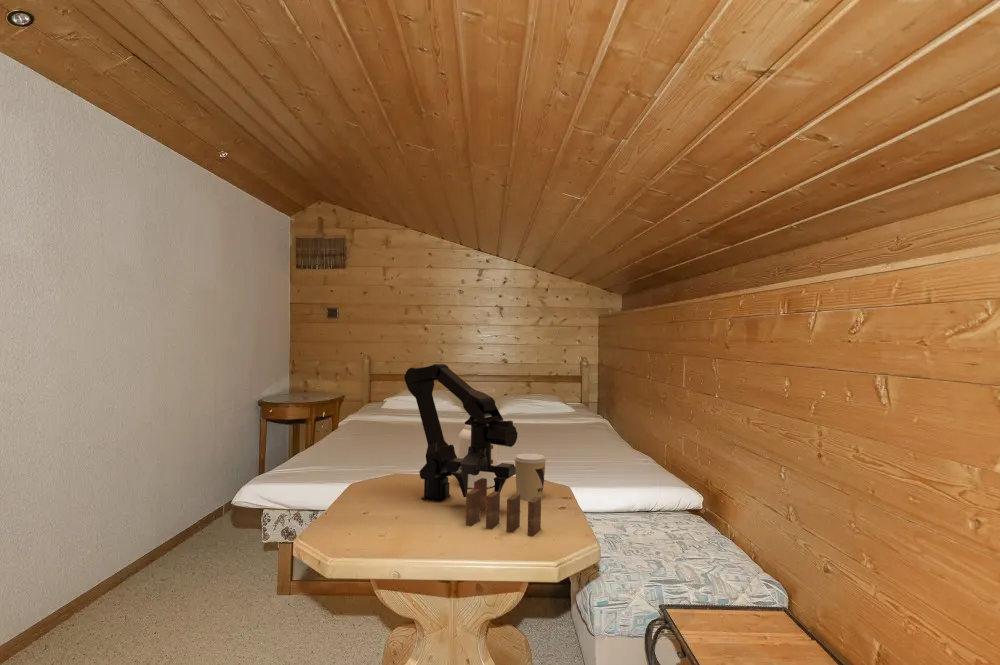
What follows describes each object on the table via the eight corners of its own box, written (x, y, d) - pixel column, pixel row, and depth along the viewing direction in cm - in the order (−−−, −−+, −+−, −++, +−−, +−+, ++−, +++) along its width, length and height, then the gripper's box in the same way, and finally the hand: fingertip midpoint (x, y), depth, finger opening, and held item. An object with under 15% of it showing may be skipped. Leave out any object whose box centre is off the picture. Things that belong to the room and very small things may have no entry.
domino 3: (485, 528, 140) (486, 496, 140) (493, 522, 145) (494, 491, 145) (491, 529, 140) (492, 496, 140) (499, 523, 144) (499, 491, 144)
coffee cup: (543, 502, 164) (543, 460, 164) (511, 499, 166) (512, 458, 166) (547, 493, 173) (547, 454, 173) (516, 491, 175) (517, 452, 175)
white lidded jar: (457, 479, 188) (458, 419, 188) (494, 479, 189) (495, 419, 190) (458, 489, 176) (459, 425, 176) (498, 489, 177) (499, 425, 177)
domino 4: (506, 531, 138) (506, 498, 138) (513, 525, 143) (514, 493, 143) (512, 532, 138) (513, 499, 138) (519, 526, 142) (520, 494, 142)
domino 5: (527, 535, 136) (528, 501, 136) (534, 528, 141) (534, 496, 141) (533, 536, 135) (534, 502, 136) (540, 529, 140) (541, 497, 140)
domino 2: (473, 511, 154) (474, 482, 154) (481, 506, 158) (481, 478, 158) (478, 512, 153) (479, 482, 153) (486, 507, 158) (486, 478, 158)
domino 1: (465, 525, 142) (466, 493, 142) (474, 519, 147) (474, 488, 147) (471, 526, 142) (472, 494, 142) (479, 520, 146) (480, 489, 146)
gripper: (436, 444, 152) (435, 502, 152) (501, 450, 145) (500, 511, 145) (455, 437, 162) (454, 492, 162) (516, 443, 155) (515, 500, 155)
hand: (480, 499), depth 156 cm, fingers open, 9 cm apart
